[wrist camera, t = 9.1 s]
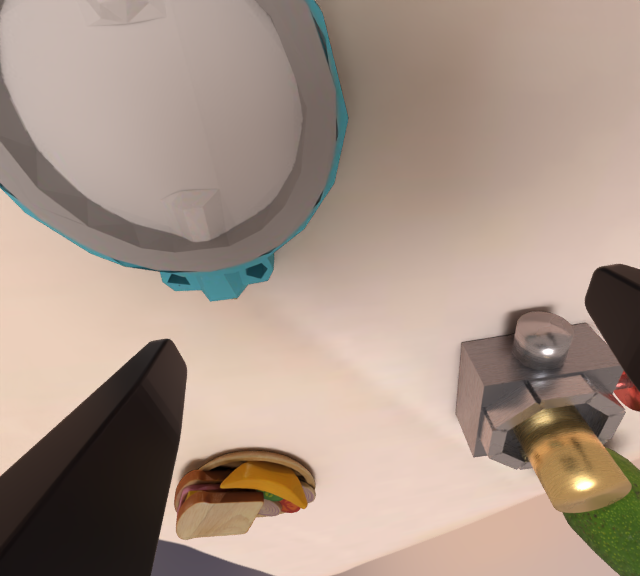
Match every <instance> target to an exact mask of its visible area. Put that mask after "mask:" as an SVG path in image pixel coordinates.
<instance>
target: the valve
mask: <svg viewBox="0 0 640 576" xmlns="http://www.w3.org/2000/svg"><path fill="white" fill-rule="evenodd" d="M613 392H614V393H615V395H616V396H617V397H618V398H619V400H620V401H621V402H622V403H623V404H625V405H626V406H627V407H629V408H630V409H632V410H635V411H639V412H640V392H639V391H638V389H637V388H636V387H635V385H634V384H633V383H632V381H631V380H630V379H629V377H628V376H627V374H626V373H625V372H624V370H623V369H622V367H621V365H620V364H619V362H618V361H617V359H616V357H615V356H614V354H613V353H612V351H611V349H610V348H609V346H608V345H607V344H606V343H605V342H604V341H603V340H602V339H601V338H600V337H599V336H598V335H597V334H596V333H595V332H594V331H593V329H592V328H591V327H590V326H589V325H588V324H587V323H583V324H577V325H571V324H570V323H569V322H568V321H566V320H565V319H564V318H562V317H560V316H558V315H555V314H553V313H549V312H542V311H535V312H529V313H526V314H524V315H522V316H521V317H520V318H519V319H518V321H517V326H516V331H515V334H513V335H507V336H501V337H494V338H488V339H482V340H475V341H469V342H463V343H462V346H461V358H460V370H459V381H458V393H457V405H456V416H457V418H458V421H459V423H460V426H461V428H462V430H463V433H464V435H465V438H466V440H467V443H468V445H469V448H470V450H471V453H472V455H473V457H480V456H488V457H489V458H490V459H492V460H495V461H497V462H499V463H502V464H504V465H507V466H509V467H511V468H514V469H518V468H519V469H520V470H522V469H529V468H533V467H532V465H531V463H530V461H529V460H528V458H527V456H526V454H525V452H524V450H523V448H522V446H521V445H520V443H519V441H518V439H517V437H516V435H515V433H514V431H513V430H512V428H513V427H515V426H516V425H518V424H520V423H521V422H523V421H524V420H526V419H528V418H529V417H531V416H533V415H534V414H536V413H537V412H539V411H541V410H542V409H549V408H556V407H563V406H570V405H574V406H575V407H576V409H577V410H578V412H579V413H580V414H581V416H582V417H583V418H584V420H585V421H586V423H587V424H588V425H589V427H590V428H591V429H592V431H593V432H594V434H595V435H596V436H597V438H598V439H599V440H600V442H601V443H602V444H604V443H606V442H608V441H607V440H608V439H611V438H612V436H613V435H614V433H615V431H616V429H617V427H618V426H619V424H620V422H621V420H622V418H623V416H624V415H625V413H626V412H625V411H624V410H625V409H624V407H623V406H622V405H621V404H620V403H619V402H618V400H617V399H616V398H615V397H614V396H613V395H612V394H613Z"/></svg>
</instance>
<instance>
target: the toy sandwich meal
mask: <svg viewBox="0 0 640 576" xmlns="http://www.w3.org/2000/svg"><path fill="white" fill-rule="evenodd" d="M315 496H316V493H315V481H314V478H313V476H312V475H311V473H310V472H309V471H308V470H307V469H306V468H305V467H303V466H302V465H301V464H300V463H299V462H297V461H296V460H294V459H292V458H290V457H287V456H285V455H282V454H278V453H273V452H267V451H239V452H233V453H229V454H225V455H222V456H219V457H217V458H215V459H213V460H211V461H209V462H208V463H207V464H205V465H204V466H202V467H201V468H199V469H198V470H193V471H191V472H189V473H187V474H186V475H185V476H184V477H183V478H182V479H181V481H180V482H179V484H178V486H177V488H176V492H175V500H174V506H175V510H176V512H177V521H176V533H177V535H178V537H179V538H181V539H183V540H188V539H192V538H198V537H211V536H226V535H238V534H245V533H247V531H248V530H249V528H250V527H251V525H252V523H253V521H254V520H255V518H256V517H266V516H277V515H279V514H282V513H294V512H297V511H299V510H300V508H302V509H305V508H306V507H307V504H308V503H310V502H312V501H314V499H315Z"/></svg>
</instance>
